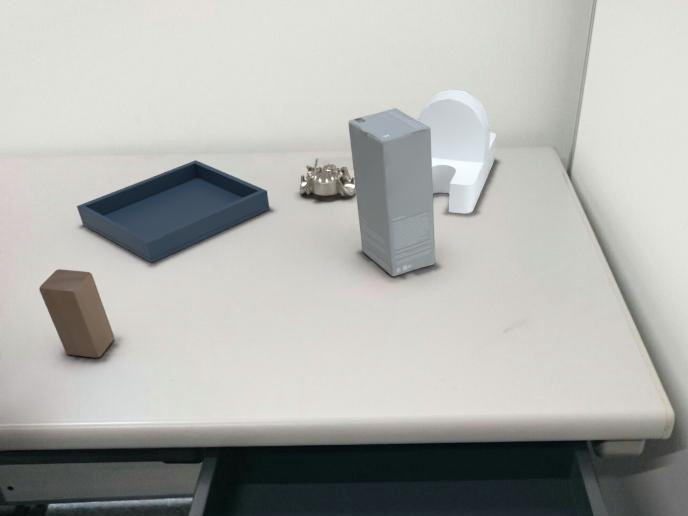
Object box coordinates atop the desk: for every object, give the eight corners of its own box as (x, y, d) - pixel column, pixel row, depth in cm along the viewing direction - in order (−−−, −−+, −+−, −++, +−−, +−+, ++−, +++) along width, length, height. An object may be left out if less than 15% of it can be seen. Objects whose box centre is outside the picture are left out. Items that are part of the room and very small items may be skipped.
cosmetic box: (436, 266, 90) (440, 127, 78) (385, 280, 88) (382, 140, 76) (402, 237, 95) (401, 103, 83) (354, 251, 92) (345, 114, 80)
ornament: (359, 182, 106) (358, 156, 103) (352, 203, 101) (350, 176, 99) (305, 180, 106) (302, 154, 104) (296, 201, 102) (292, 174, 99)
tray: (83, 225, 98) (76, 205, 96) (199, 178, 107) (195, 159, 105) (152, 263, 91) (146, 243, 89) (269, 209, 100) (267, 190, 98)
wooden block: (82, 335, 80) (56, 267, 74) (116, 338, 80) (92, 270, 74) (65, 355, 78) (36, 287, 72) (100, 359, 77) (73, 291, 71)
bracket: (430, 152, 113) (432, 68, 104) (495, 159, 111) (502, 74, 102) (399, 206, 101) (398, 116, 92) (471, 214, 99) (477, 123, 90)
